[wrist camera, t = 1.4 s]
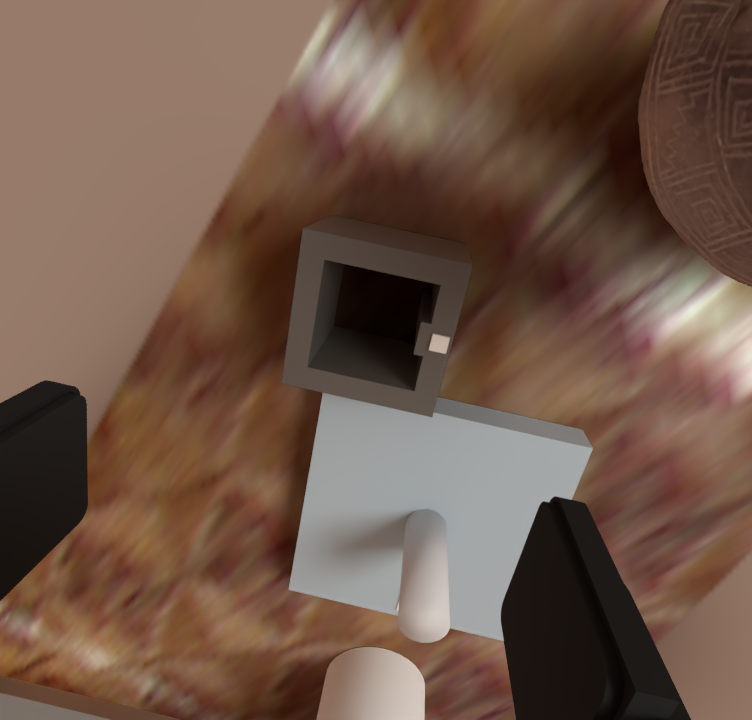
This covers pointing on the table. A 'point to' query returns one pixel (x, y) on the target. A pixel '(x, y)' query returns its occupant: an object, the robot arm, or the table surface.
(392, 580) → the shaft base
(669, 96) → the clay figurine
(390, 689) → the cylindrical container
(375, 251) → the square tunnel housing
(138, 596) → the table surface
